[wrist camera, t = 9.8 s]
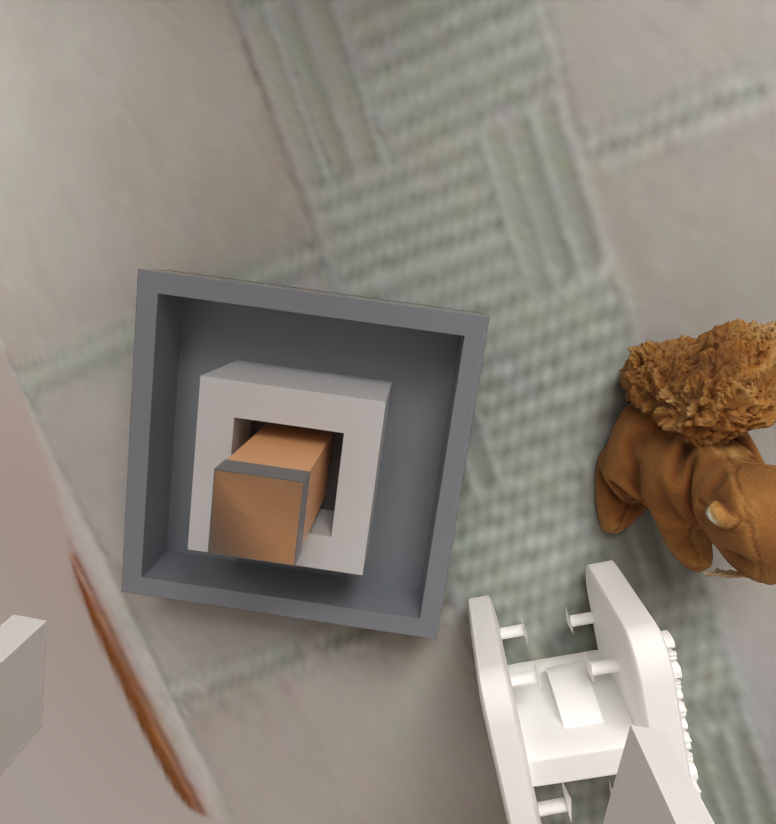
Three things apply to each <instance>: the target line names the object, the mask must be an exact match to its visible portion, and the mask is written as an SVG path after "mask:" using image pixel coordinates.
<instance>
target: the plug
mask: <svg viewBox="0 0 776 824" xmlns="http://www.w3.org/2000/svg"><path fill="white" fill-rule="evenodd" d="M333 433H334V432H332V431H325V430H318V429H311V428H304V427H297V426H290V425H283V424H276V423H269V422H268V423H267V424H266V425H265V426H264V427H263V428H261V429H260V430H259V431H258V432H257V433H256V434H255V435H254V436H253V437H251V438H250V439H249V440H248V441H247V442H246V443H245V444H244V445H243V446H241V447H240V448H239V449H238V450H237V451H236V452H235V453H234V454H233V455H231V456H230V457H229V458H228V459H225V460H224V461H223V462H221V463H220V464H219V465H218V466H217V467H216V468H215V469H214V479H213V491H212V504H211V516H210V529H209V541H208V553H210V554H217V555H224V556H230V557H237V558H244V559H250V560H257V561H264V562H271V563H277V564H284V565H291V566H295V565H296V562H297V560H298V558H299V556H300V554H301V550H302V546H303V544H304V542H305V540H306V537H307V535H308V533H309V531H310V529H311V526H312V524H313V522H314V520H315V518H316V516H317V513H318V511H319V509H320V507H321V505H322V502H323V500H324V498H325V496H326V492H327V483H328V475H329V466H330V458H331V450H332V441H333Z"/></svg>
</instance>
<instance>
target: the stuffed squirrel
mask: <svg viewBox="0 0 776 824" xmlns="http://www.w3.org/2000/svg"><path fill="white" fill-rule="evenodd" d="M775 338H776V321H774V322H768V323H767V324H762V325H761V323H760V324H757V323H756V319H755V320H754V321H752V322H750V323H749V324H748V323H746V322H745V321H744V320H739V319H738V318H737V320H735V321H731V322H729V321H728V322H726V323H725V324H723V325H720V326H719V325H718V326H714V328H713V329H712V330H710V331H708V332H705V333H703V334H701V335H699V337H698V338H697V339H696V338H689V336H687V337H686V338H685V336H684V335H681V337H680V338H678V339H677V340H669V341H668V340H665V342H662V343H661V344H660V343H659V342H654V343H653V342H650V341H648V340H647V342H646V343H641V345H640V346H635V347H633V348H630V347H629V348H628V350H630V353H631V354H630V355H629V358H628V360H627V361H625V366H624V367H623V369H622V370H619V372H620V373H621V379H620V383H621V384H622V388H623V389H624V390H626V391H627V392H626V396H625V399H626V400H625V401H627V402H628V401H631V403H629V404H628V405H627V406H626V407H625V408H624V409H623V410H622V412H621V414H620V415H619V417H618V419H617V421H616V423H615V425H614V427H613V429H612V432H611V434H610V437H609V439H608V442H607V444H606V446H605V448H604V450H603V451H602V453H601V454H600V456H599V458H598V461H597V469H596V488H595V496H596V509H597V514H598V518H599V523H600V526H601V528H602V529H603V530H604V531H606V532H607V533H611V532H612V533H615V534H617V533H619V532H621V531H623V530H625V529H626V528H627V527H629V526H630V525H631V524H632V523H633V522H634V521H635V520H636V519H637V518H638V517H639V516H640V515H641V514H642V513H643V512H644V511H645V510H646V509H647V508H648V509H649V511H650V513H651V515H652V516H653V518H654V520H655V523H656V525H657V527H658V529H659V531H660V533H661V536H662V538H663V540H664V541H665V543H666V545H667V547H668V548H669V550H670V551H671V553H672V554H673V555H674V556H675V557H676V559H677V560H678V561H679V562H680V563H682V564H683V565H684V566H685V567H687V568H688V569H690V570H692V571H695V572H701V571H703V570H704V569H707V568H709V567H711V565H712V560H713V551H712V543H713V544H714V545H715V546H716V548H717V549H718V550H719V551H720V553H721V554H722V555H723V557H724V558H725V559H726V560H727V562H728V563H729V564H730V565H731V566H732V567H734V568H735V569H736V570H737V571H738V572H737V571H733V570H728V571H725V570H720V569H718V568H716V569H715V572H710V571H704V573H705V575H706V576H719V577H726V578H733V577H735V578H738V577H747V578H750V579H752V580H754V581H756V582H760V583H765V584H768V585H773V584H776V466H774V465H768V464H764V461H763V459H762V457H761V455H760V453H759V451H758V449H757V447H756V445H755V444H754V442H753V440H752V439H751V437H750V435H749V434H748V432H747V431H749V430H752V429H760V428H765V427H767V428H768V427H771V426H772V425H774V423H775V422H776V340H775ZM711 541H712V542H711ZM718 573H722V574H718Z"/></svg>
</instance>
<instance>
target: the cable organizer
mask: <svg viewBox="0 0 776 824" xmlns="http://www.w3.org/2000/svg"><path fill="white" fill-rule="evenodd" d="M585 575H586V586H587V593H588V598H589V604H590V609H591V612H586V613H580V614H575V615H568V612H567V609H566V606H565V609H566V618H567V623H568V625H569V628H570V630H571V632H572V631H573V628H572V627H575V626H581V625H587V624H592V623H593V625H594V631H595V636H596V642H597V647H598V650H591V651H586V652H580V653H574V654H568V655H562V656H556V657H551V658H545V659H539V660H533V661H527V662H522V663H516V664H510V665H507V660H506V656H505V651H504V647H503V642H502V639H507V638H513V637H518V636H524V635H525V639H526V641H527V632H526V628H525V626H524V623H523V621H522V618H521V622H522V624H519V625H513V626H507V627H502V628H499V624H498V620H497V616H496V613H495V609H494V606H493V603H492V601H491V599H490V597H489V596H488V595H486V596H480V597H475V598H469V599H468V616H469V623H470V631H471V638H472V645H473V653H474V660H475V668H476V675H477V683H478V690H479V696H480V702H481V707H482V712H483V716H484V721H485V725H486V729H487V734H488V738H489V743H490V747H491V752H492V756H493V760H494V765H495V769H496V774H497V778H498V783H499V787H500V791H501V796H502V800H503V805H504V809H505V814H506V818H507V823H508V824H542V823H541V818H540V817H541V816H547V815H552V814H558V813H564V812H568V815H569V816H570V820H571V798H570V796H569V794H568V792H567V789H566V787H565V785H564V783H563V782H570V781H576V780H583V779H590V778H596V777H603V776H609V775H616V774H617V771H618V767H619V764H620V760H621V757H622V753H623V750H624V746H625V743H626V739H627V736H628V732H629V728H630V725H635V726H641V727H646V728H652V729H658V730H663V731H666V733H667V735H668V737H669V739H670V741H671V743H672V745H673V746H674V748H675V750H676V752H677V754H678V756H679V758H680V760H681V762H682V763H683V765H684V767H685V769H686V771H687V773H688V775H689V777H690V779H691V780H692V782H693V784H694V786H695V788H696V790H697V792H698V794H699V796H700V794H701V790H700V789H699V787H698V785H697V783H696V782H697V780H696V779H698V773H697V770H696V767H695V765H694V763H693V758H692V757H693V755H692V753H691V752H689V751H688V750H691V744H690V742H692V740H691V739H690V737H689V733H688V732H686V729H688V725H687V722H686V720H685V718H684V717H686V712H687V710H686V708H685V705H684V703H683V702H681V700H680V699H683V694H682V691H681V689H680V688H682V686H681V685H680V684H681V681H680V680H677V678H681V677H682V672H681V668H680V666H679V664H678V662H677V661H676V660H677V657H676V655H677V654H676V652H675V651H672V649H671V648H675V643H674V640H673V638H672V636H671V635H670V633H669V632H668V631H667V630H664V631H660V629H659V627H658V626H657V624H656V622H655V621H654V619H653V618H652V617H651V615H650V614H649V612H648V611H647V609H646V608H645V606H644V605H643V603H642V602H641V600H640V599H639V597H638V596H637V594H636V593H635V592H634V590H633V589H632V587H631V586H630V584H629V583H628V581H627V580H626V578H625V577H624V575H623V574H622V572H621V571H620V570H619V568H618V567H617V565H616V564H615V562H614V561H612V560H609V561H604V562H598V563H593V564H588V565H587V566H586V574H585ZM520 617H521V616H520ZM573 633H574V631H573ZM574 635H575V634H574ZM527 645H528V643H527ZM557 783H561V784H562V788H563V789H562V791H563V794H564V797H561V798H556V799H550V800H545V801H539V802H537V800H536V795H535V790H534V786H544V785H550V784H557ZM609 783H610V780H609ZM609 788H610V793H611V792H612V786H611V783H610V786H609Z"/></svg>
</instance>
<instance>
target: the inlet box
mask: <svg viewBox="0 0 776 824" xmlns="http://www.w3.org/2000/svg"><path fill="white" fill-rule="evenodd" d="M488 323H489V317H488V316H486V315H484V314H482V313H477V312H469V311H462V310H455V309H447V308H440V307H433V306H426V305H418V304H411V303H404V302H396V301H389V300H382V299H375V298H367V297H360V296H353V295H345V294H338V293H331V292H323V291H316V290H309V289H302V288H294V287H287V286H280V285H272V284H265V283H258V282H251V281H243V280H236V279H229V278H221V277H214V276H207V275H200V274H192V273H185V272H178V271H167V270H146V269H138V282H137V301H136V321H135V340H134V359H133V379H132V398H131V418H130V437H129V457H128V476H127V496H126V515H125V535H124V554H123V574H122V592H127V593H134V594H140V595H147V596H154V597H160V598H167V599H173V600H180V601H187V602H193V603H200V604H207V605H213V606H220V607H226V608H233V609H240V610H246V611H253V612H259V613H266V614H273V615H279V616H286V617H293V618H299V619H306V620H312V621H319V622H326V623H332V624H339V625H345V626H352V627H359V628H365V629H372V630H379V631H385V632H392V633H398V634H405V635H412V636H418V637H425V638H432V639H437V633H438V627H439V621H440V615H441V609H442V603H443V597H444V591H445V585H446V578H447V572H448V566H449V560H450V554H451V548H452V542H453V536H454V530H455V524H456V518H457V512H458V506H459V499H460V493H461V487H462V481H463V475H464V469H465V463H466V457H467V451H468V445H469V439H470V433H471V427H472V421H473V414H474V408H475V402H476V396H477V390H478V384H479V378H480V372H481V366H482V360H483V354H484V348H485V342H486V335H487V329H488ZM268 422H269V423H276V424H283V425H290V426H297V427H304V428H311V429H318V430H325V431H332V432H334V433H333V441H332V450H331V458H330V466H329V475H328V483H327V492H326V496H325V498H324V500H323V502H322V505H321V507H320V509H319V511H318V513H317V516H316V518H315V520H314V522H313V524H312V526H311V529H310V531H309V533H308V535H307V537H306V540H305V542H304V544H303V546H302V550H301V554H300V556H299V558H298V560H297V562H296V565H295V566H291V565H284V564H277V563H271V562H264V561H257V560H250V559H244V558H237V557H230V556H224V555H217V554H210V553H208V541H209V529H210V516H211V504H212V491H213V479H214V469H215V468H216V467H217V466H218V465H219V464H220V463H221V462H223V461H224V460H225V459H228V458H229V457H230V456H231V455H233V454H234V453H235V452H236V451H237V450H238V449H239V448H240V447H241V446H243V445H244V444H245V443H246V442H247V441H248V440H249V439H250V438H251V437H253V436H254V435H255V434H256V433H257V432H258V431H259V430H260V429H261V428H263V427H264V426H265V425H266V424H267V423H268Z"/></svg>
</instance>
